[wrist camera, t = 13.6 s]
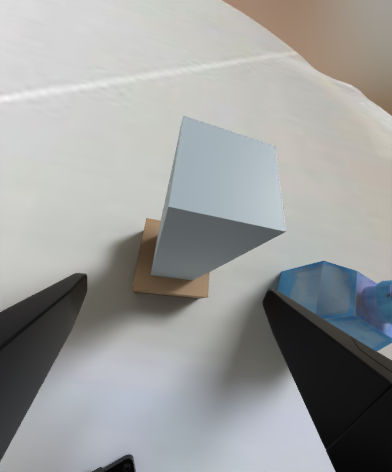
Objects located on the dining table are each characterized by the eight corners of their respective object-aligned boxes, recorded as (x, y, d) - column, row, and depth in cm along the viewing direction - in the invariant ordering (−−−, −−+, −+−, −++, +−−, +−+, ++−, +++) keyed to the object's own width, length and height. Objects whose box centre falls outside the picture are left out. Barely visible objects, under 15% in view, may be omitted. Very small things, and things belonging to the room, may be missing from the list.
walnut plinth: (198, 298, 20) (207, 297, 17) (133, 291, 18) (131, 289, 16) (203, 239, 22) (211, 230, 20) (145, 229, 21) (146, 218, 18)
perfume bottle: (312, 342, 22) (480, 377, 11) (269, 316, 21) (398, 326, 11) (319, 294, 24) (460, 285, 14) (281, 271, 24) (394, 242, 13)
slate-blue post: (192, 280, 17) (285, 231, 6) (150, 275, 16) (168, 206, 5) (196, 241, 19) (275, 145, 8) (157, 234, 18) (183, 115, 7)
